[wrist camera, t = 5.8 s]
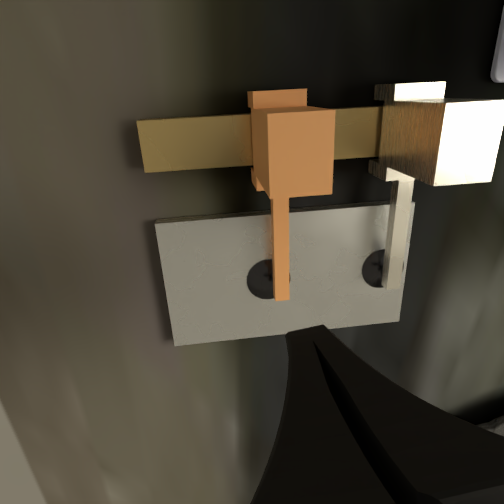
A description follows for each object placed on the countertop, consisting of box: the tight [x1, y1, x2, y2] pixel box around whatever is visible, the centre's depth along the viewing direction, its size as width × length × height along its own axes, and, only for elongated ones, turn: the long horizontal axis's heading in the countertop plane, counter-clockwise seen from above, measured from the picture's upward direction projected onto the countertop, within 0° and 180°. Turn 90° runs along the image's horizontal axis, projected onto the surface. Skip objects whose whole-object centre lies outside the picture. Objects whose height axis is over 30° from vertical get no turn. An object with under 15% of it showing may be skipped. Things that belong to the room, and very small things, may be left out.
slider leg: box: [247, 89, 336, 301], centre depth 17 cm, size 2×11×6 cm, turn 3°
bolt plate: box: [155, 200, 415, 346], centre depth 22 cm, size 14×8×1 cm, turn 93°
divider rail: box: [136, 81, 504, 290], centre depth 18 cm, size 14×11×6 cm
